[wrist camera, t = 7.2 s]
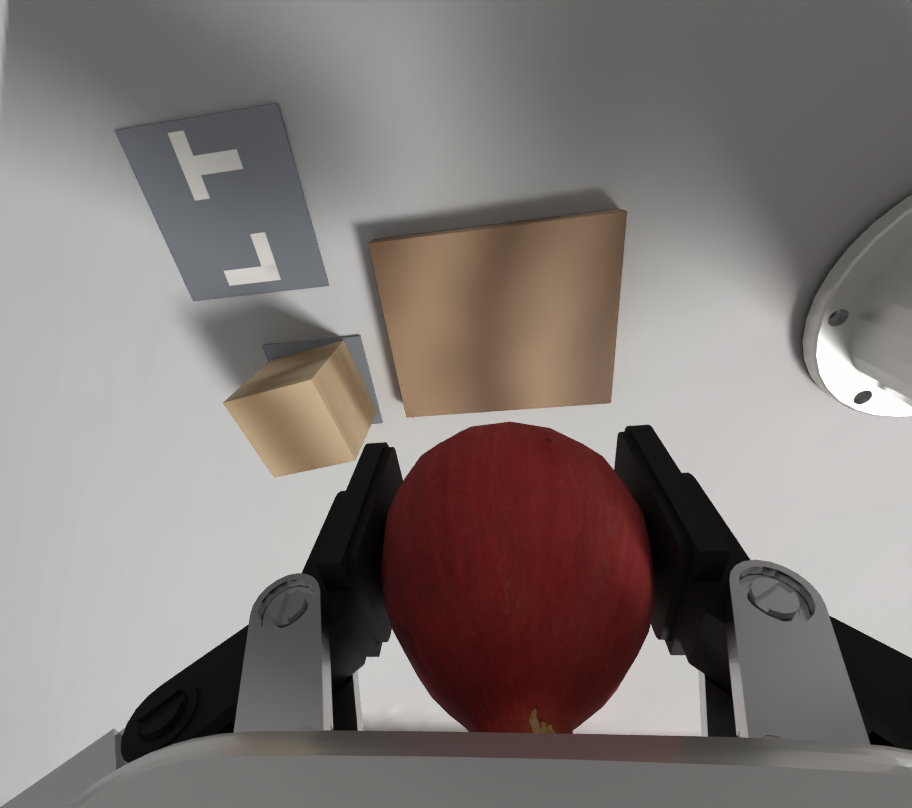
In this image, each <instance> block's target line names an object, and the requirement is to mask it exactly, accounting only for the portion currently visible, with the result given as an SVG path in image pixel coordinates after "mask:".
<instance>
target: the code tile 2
mask: <svg viewBox="0 0 912 808" xmlns="http://www.w3.org/2000/svg"><path fill="white" fill-rule="evenodd" d="M341 340H344V341H345V344H346V346H347V348H348V350H349V352H350V354H351V356H352V358H353V361H354V363H355V365H356V367H357V369H358V371H359V373H360V375H361V378H362V380H363V382H364V384H365V386H366V388H367V390H368V392H369V395H370V397H371V399H372V401H373V403H374V405H375V407H376V409H377V412H376V415H375V417H374V419H373V421H372V424H378V423H382V422H383V421H382V417H381V414H380V410H379V406H378V402H377V398H376V394H375V390H374V386H373V383H372V379H371V375H370V371H369V367H368V363H367V359H366V355H365V352H364V348H363V344H362V340H361V336H350V337H339V338H329V339H318V340H308V341H298V342H287V343H277V344H266V345H263V349H264V351H265V354H266V356H267V359H268V361H270V360H274V359H278V358H281V357H285V356H288V355H292V354H295V353H299V352H302V351H306V350H310V349H313V348H317V347H320V346H324V345H327V344H331V343H334V342H338V341H341Z"/></svg>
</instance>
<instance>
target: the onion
mask: <svg viewBox="0 0 912 808" xmlns="http://www.w3.org/2000/svg"><path fill="white" fill-rule="evenodd" d="M380 579H381V585H382V592H383V598H384V605H385V608H386V611H387V614H388V617H389V620H390V623H391V626H392V629H393V631H394V633H395V635H396V637H397V639H398V641H399V643H400V644H401V646H402V648H403V650H404V652H405V654H406V656H407V658H408V659H409V661H410V663H411V665H412V667H413V668H414V670H415V672H416V674H417V676H418V678H419V679H420V681H421V682H422V683H423V685H424V686H425V688H426V689H427V691H428V692H429V694H430V695H431V697H432V698H433V699H434V700H435V701H436V702H437V703H438V704H439V705H440V706H441V707H442V708H443V709H444V710H445V711H446V712H447V713H448V714H449V715H450V716H451V717H453V718H454V719H455V720H456V721H458V722H459V723H460V724H461V725H463V726H464V727H465V728H466V729H467V730H468V731H469V732H492V733H552V734H572V732H573V730H574V729H576V728H577V727H578V726H579V725H581V724H582V723H583V722H584V721H586V720H587V719H588V718H589V717H591V716H592V715H593V714H594V713H596V712H597V711H598V710H599V709H601V708H602V707H603V706H604V705H605V704H606V702H607V701H608V700H609V699H610V698H611V696H612V695H613V694H614V693H615V692H616V690H617V688H618V687H619V685H620V683H621V682H622V680H623V678H624V677H625V675H626V673H627V672H628V670H629V668H630V667H631V665H632V664H633V662H634V660H635V659H636V657H637V655H638V653H639V651H640V649H641V647H642V645H643V643H644V640H645V638H646V636H647V634H648V632H649V628H650V624H651V619H652V615H653V611H654V606H655V574H654V568H653V561H652V554H651V547H650V542H649V537H648V533H647V528H646V524H645V519H644V515H643V511H642V510H641V508H640V507H639V505H638V503H637V502H636V500H635V499H634V497H633V495H632V494H631V492H630V491H629V489H628V487H627V486H626V484H625V483H624V482H623V481H622V480H621V478H620V477H619V476H618V475H617V473H616V472H615V471H614V470H613V468H612V467H611V466H610V465H609V464H608V462H607V461H606V460H605V459H604V457H603V456H601V455H600V454H598V453H596V452H595V451H593V450H592V449H590V448H588V447H587V446H585V445H583V444H582V443H580V442H577V441H575V440H573V439H571V438H569V437H567V436H565V435H563V434H561V433H559V432H557V431H555V430H553V429H551V428H546V427H540V426H534V425H527V424H521V423H515V422H504V423H496V424H489V425H481V426H473V427H470V428H468V429H465V430H463V431H461V432H459V433H457V434H456V435H454V436H452V437H451V438H449V439H447V440H445V441H443V442H441V443H439V444H438V445H436V446H435V447H433V448H432V449H430V450H429V451H427V452H426V453H424V454H423V455H421V457H420V458H419V459H418V461H417V462H416V464H415V465H414V466H413V468H412V469H411V471H410V472H409V473H408V475H407V476H406V478H405V479H404V481H403V482H402V483H401V485H400V487H399V489H398V491H397V493H396V495H395V498H394V500H393V502H392V504H391V506H390V508H389V511H388V513H387V521H386V529H385V537H384V545H383V554H382V563H381V572H380Z"/></svg>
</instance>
